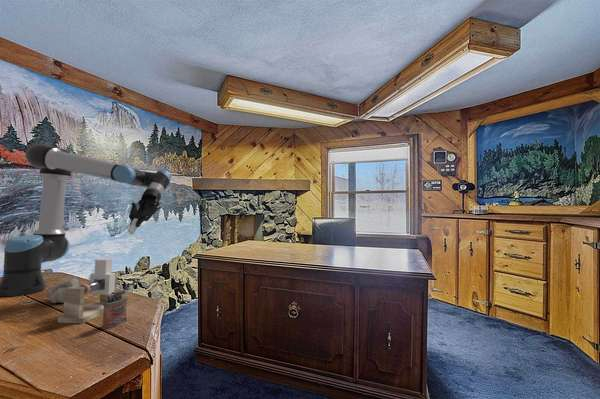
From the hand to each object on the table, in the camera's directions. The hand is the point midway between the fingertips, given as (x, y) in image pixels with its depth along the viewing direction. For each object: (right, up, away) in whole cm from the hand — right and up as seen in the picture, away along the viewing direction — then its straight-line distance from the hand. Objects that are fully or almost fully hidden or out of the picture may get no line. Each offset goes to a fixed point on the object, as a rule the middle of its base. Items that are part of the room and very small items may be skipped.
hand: (130, 232), depth 120 cm
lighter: (+12, -25, -30) cm, 41 cm away
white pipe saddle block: (-1, -20, -16) cm, 25 cm away
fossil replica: (-22, -26, -7) cm, 35 cm away
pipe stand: (-1, -25, -20) cm, 33 cm away
